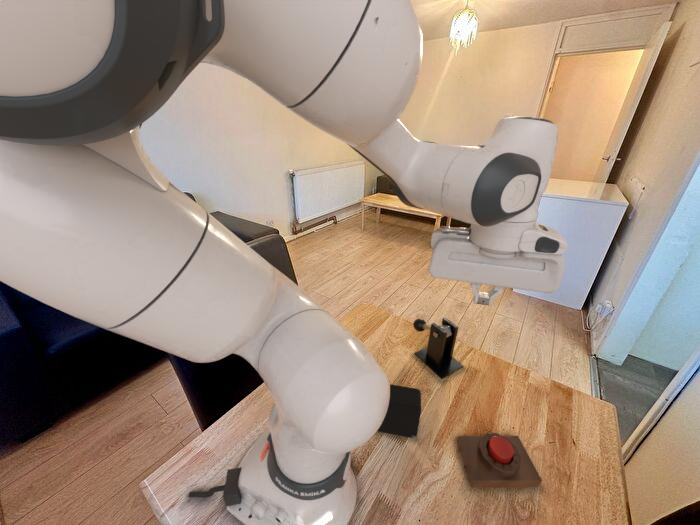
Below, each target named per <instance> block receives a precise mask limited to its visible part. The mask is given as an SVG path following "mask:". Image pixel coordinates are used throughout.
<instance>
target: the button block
mask: <svg viewBox="0 0 700 525" xmlns="http://www.w3.org/2000/svg"><path fill="white" fill-rule="evenodd" d="M494 436H500V437H502V438H504V439H506V440H507V441H508V442H509V443H510V444H511V445H512V447H513V450H514V454H513V457H512V459H511V461H510V462H509V463H507V464H502V463H499V462H497V461H496V460H494V459H493V458H492V457H491V455H490V454H489V452H488V444H489V441H490V439H491V438H492V437H494ZM457 443H458V447H459V449H460V452H461V456H462V459H463V461H464V464H465V465H464V468H465V471H466V475H467V477H468V480H469V481H468V482H469V484H470V487H471V488H472V489H475V488H477V489H478V488H479V489H481V488H482V489H484V488H486V489H487V488H495V489H496V488H539V487H540V485H541V484H542V482H543V480H542V478H541V476H540V474H539V472H538V470H537V469H536V466H535V465H534V463H533V461H532V459H531V458H530V455H529V454H528V452H527V449H526V448H525V447H524V444H523V443H522V441H521V438H520V436H519V435H502V434H499V433H498V432H486V433H484V434H483V435H458V436H457Z"/></svg>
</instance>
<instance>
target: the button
mask: <svg viewBox="0 0 700 525" xmlns="http://www.w3.org/2000/svg"><path fill="white" fill-rule="evenodd" d="M488 452H489V454H490V455H491V457H492V458H493V459H494V460H496V461H497V462H499V463H502V464H507V463H509V462H510V461H511V459H512V457H513V454H514V450H513V447H512V445H511V444H510V443H509V442H508V441H507V440H506V439H504V438H502V437H500V436H494V437H492V438H491V439H490V441H489V444H488Z"/></svg>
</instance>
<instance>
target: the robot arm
mask: <svg viewBox="0 0 700 525" xmlns="http://www.w3.org/2000/svg"><path fill="white" fill-rule="evenodd" d="M423 39H424V38H423V32H422V29H421V25H420V23H419V19H418V17H417V13H416V11H415V9H414V7H413V5H412V3H411V0H0V282H1V283H3V284H6V285H7V286H9V287H11V288H13V289H14V290H17V291H18V292H21V293H22V294H24V295H26V296H29V297H30V298H33V299H35V300H37V301H39V302H40V303H43V304H45V305H47V306H50V307H52V308H54V309H56V310H59V311H61V312H63V313H65V314H67V315H69V316H72V317H74V318H76V319H79V320H81V321H84V322H86V323H89V324H92V325H94V326H96V327H99V328H100V329H101V328H102V329H104V330H106V331H108V332H109V331H110V332H112V333H114V334H117V335H120V336H122V337H125V338H128V339H131V340H132V341H133V340H134V341H136V342H138V343H142V344H144V345H147V346H149V347H152V348H155V349H157V350H160V351H164V352H166V353H169V354H171V355H173V356H177V357H179V358H182V359H185V360H187V361H190V362H192V363H197V364H198V363H199V364H208V363H213V362H217V361H220V360H222V359H224V358H226V357H228V356H230V355H232V354H233V355H237V356H239V357H241V358H243V359H244V360H245V361H247V362H248V363H249V364H250V366H252V368H254V370H255V371H256V372H257V373H258V375H259V377H261V379H262V380H263V382H264V384H265V386H266V388H267V390H268V392H269V395H270V396H271V398H272V399H271V400H272V401H273V404H272V406H271V409H270V412H269V416H268V428H267V429H266V430H265V431H263V433H262V434H261V435H260V436H259V437H258V438H257V440H256V441H255V442H254V443H253V444H252V445H251V447H250V448H249V449H248V451H246V453H245V454H244V456H243V458H242V459H241V461H240V463H239V465H238V467H234V468H231V469H227V472H226V476H225V482H224V484H223V485H218V486H213V487H211V488H209V490H208V491H189V493H188V498H209V497H212V496H214V494H215V493H218V492H223V494H222V499H223V501H224V504H225V506H226V510H227V511H228V513H230V514H231V515H232V516H233V517H235V518H236V519H237V520H238V521H240V522H241V523H242V524H243V525H348V523H349V521H350V520H351V518H352V516H353V513H354V511H355V508H356V503H357V499H358V486H357V480H356V476H355V473H354V470H353V468H352V467H351V463H352V452H353V451H355V450H357V449H359V448H360V447H362V446H363V445H365V444H366V443H367V442H368V441H369V440H371V438H373V437H374V436H375V434H376V433H377V432H378V431H377V430H378V429H379V427H380V426H381V424H382V422H383V420H384V418H385V415H386V413H387V410H388V405H389V400H390V384H391V383H390V379H389V376H388V375H387V374H386V372H385V371H384V369H383V368H382V366H381V365H380V363H379V362H378V361H377V359H376V358H375V356H374V355H373V354H372V353H371V351H370V350H369V349H368V347H367V346H366V345H365V343H364V342H362V341H361V339H359V338H358V337H357V336H356V335H355V333H352V332H351V331H350V329H348V328H347V327H346V326H345V325H344V324H343V323H341V322H340V321H339V320H338V319H337V318H336V317H335V316H334V315H332V313H330V311H328V310H327V309H326V308H325V307H324V306H323V305H321V304H320V303H319V302H318V301H317V300H316V299H315V298H314V297H313V296H311V295H310V294H309V293H308V292H307V291H306V290H305V289H303V288H302V287H300V286H299V285H298V284H296V283H295V282H294V281H293V280H292V279H290V278H289V277H288V276H286V275H285V274H284V273H283V272H281V271H280V270H279V269H277V268H276V267H275V266H273V264H271V263H270V262H268V261H267V260H266V258H264V257H262V256H261V255H260V254H259V253H258V252H257V251H255V250H254V249H253V248H252V247H250V246H249V245H248V244H247V243H245V241H243V240H242V239H241V238H239V237H238V236H237V235H236V234H235V233H234V232H232V230H230V229H229V228H228V227H226V226H225V225H224V224H222V223H221V222H220V221H219V220H218V219H216V218H215V216H213V215H212V214H210V213H209V212H208V211H207V210H205V209H204V208H203V207H202V206H201V205H199V204H198V203H197V202H195V201H194V200H193V199H192V198H191V197H190V196H188V195H187V194H186V193H184V192H183V191H182V190H180V189H179V188H178V187H177V186H176V185H175V183H173V182H172V181H171V180H169V178H168V177H166V176H165V174H163V172H162V171H160V169H159V168H158V167H157V166H156V164H155V163H154V162H153V161H152V159H151V158H150V157H149V155H148V153H147V152H146V150H145V148H144V145H143V143H142V139H141V135H140V130H141V127H142V126H143V124H144V123H145V122H147V121H148V120H149V119H150V118H151V117H153V116H154V115H155V114H156V113H157V112H158V111H159V110H160V109H162V107H163V106H164V105H165V104H166V103H167V102H168V101H169V100H170V99H171V97H172V96H173V95H174V94H175V93H176V91H177V90H178V88H179V87H180V86H181V85H182V84H183V82H184V81H185V80H186V78H187V77H188V76H189V75H190V74H191V73H192V72H193V71H194V70H195V69H196V68H197V67H198V65H199V64H207V65H214V66H217V67H221V68H223V69H225V70H228V71H230V72H232V73H233V74H236V75H238V76H240V77H241V78H243V79H247V80H248V81H250V82H251V83H253V84H254V85H256V86H257V87H258V88H259V89H260V90H262V91H263V92H264V93H265V94H267V95H269V97H271V98H273V99H274V100H275V101H276V102H278V103H279V104H281V105H282V106H284V107H285V108H287V109H288V111H291V113H293V114H295V115H296V116H298V117H300V118H301V119H303V120H304V121H305V122H307V123H309V124H310V125H312V126H314V127H315V128H317V129H319V130H321V131H322V132H324V133H325V134H327V135H329V136H331V137H333V138H335V139H337V140H339V141H341V142H343V143H344V144H346V145H348V146H349V147H350V148H351V149H352V150H353V151H355V152H356V153H357V154H358V155H359V156H361V157H362V158H363V159H364V160H366V161H367V162H368V163H369V164H371V165H372V166H373V167H375V169H377V171H379V172H380V173H382V175H384V177H386V179H387V180H388V182H389V183H390V185H391V187H392V189H393V191H394V193H395V195H396V196H397V199H398V200H399V201H400V202H401V203H402V204H403V205H405V206H407V207H410V208H413V209H419V210H424V211H427V212H432V213H434V214H438V215H441V216H444V217H447V218H450V219H453V220H457V221H460V222H463V223H466V224H468V225H469V224H470V227H469V228H468V227H452V226H451V227H450V226H447V225H446V226H445V225H443V226H441V227H439V228H436V229H435V230H434V231H432V233H431V235H430V241H429V245H430V248H431V249H432V251H431V254H430V259H429V263H428V274H429V275H430V277H431V278H433V279H442V280H449V281H456V282H465V283H470V288H471V291H472V293H473V297H472V302H473V304H475V305H483V306H488V307H492V305H493V302H494V299H496V298H497V297H498V296H500V295H501V294H502V293H503V292H504V290H505V288H506V289H507V288H508V289H515V290H522V291H528V292H529V291H531V292H536V293H537V292H538V293H544V294H552V293H554V292H556V291H557V290H558V289H559V288H560V287H561V284H562V281H563V278H564V274H565V270H566V269H565V268H566V259H565V257H564V256H563V255H564V254H565V253H566V252H567V249H568V247H569V245H568V242H567V240H566V239H565V238H564V237H563V236H562V235H561V234H560V232H558V231H557V230H555V229H554V228H553V227H550V226H548V225H545V224H542V223H540V222H537V220H538V217H539V204H540V200H541V198H542V196H543V195H544V194H545V192H546V191H547V188H548V185H549V182H550V179H551V178H550V177H551V175H552V172H553V168H554V164H555V163H554V162H555V159H556V152H557V147H558V146H557V145H558V138H559V128H558V125H557V124H555V123H554V122H553V121H552V120H549V119H547V118H541V117H532V116H521V115H520V116H508V117H505V118H501V119H499V120H498V121H497V123H496V124H495V127H494V129H493V131H492V134H491V136H490V137H489V138H487V139H486V140H485V141H483V142H481V143H478V144H477V145H476V146H474V145H472V146H471V145H470V146H469V145H461V144H460V145H458V144H446V143H438V142H434V141H429V140H428V141H427V140H419V139H418V138H416V137H414V136H413V134H412V133H411V132H410V131H409V130H408V128H406V126H405V125H404V124H403V123H402V121H401V120H400V117H401V116H402V114H403V113H404V111H405V110H406V108H407V107H408V105H409V103H410V101H411V99H412V97H413V94H414V92H415V90H416V87H417V86H418V85H417V83H418V81H419V79H420V74H421V69H422V62H423V49H424V48H423V46H424V44H423V43H424V42H423V41H424V40H423ZM481 285H485V286H492V288H490V290H489V291H488V292H485V291H479V289H480V287H481Z"/></svg>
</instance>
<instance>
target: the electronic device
mask: <svg viewBox="0 0 700 525" xmlns="http://www.w3.org/2000/svg"><path fill="white" fill-rule="evenodd" d="M421 413H422V391H421V390H420V389H418V388H415V387H409V386H404V385H403V386H402V385H398V384H391V383H390V400H389V405H388V410H387V413H386V415H385V418H384V420H383V422H382V424H381V426H380V427H379V429H378V430H377V432H378V433H383V434H389V435H396V436H399V437H404V438H410V439H413V437H417V436H418V431H419V427H420V426H419V425H420V420H421Z"/></svg>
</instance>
